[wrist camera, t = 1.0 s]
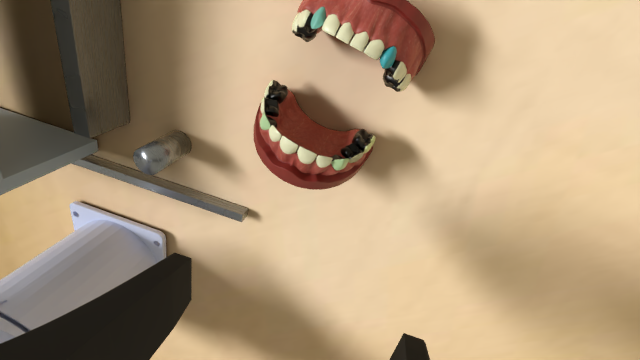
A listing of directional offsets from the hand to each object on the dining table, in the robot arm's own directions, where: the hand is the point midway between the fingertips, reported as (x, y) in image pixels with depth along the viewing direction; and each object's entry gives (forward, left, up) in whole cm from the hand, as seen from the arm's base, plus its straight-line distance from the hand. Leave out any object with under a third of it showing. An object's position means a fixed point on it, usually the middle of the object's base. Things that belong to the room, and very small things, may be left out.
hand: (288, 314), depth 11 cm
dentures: (+5, +2, -10) cm, 11 cm away
